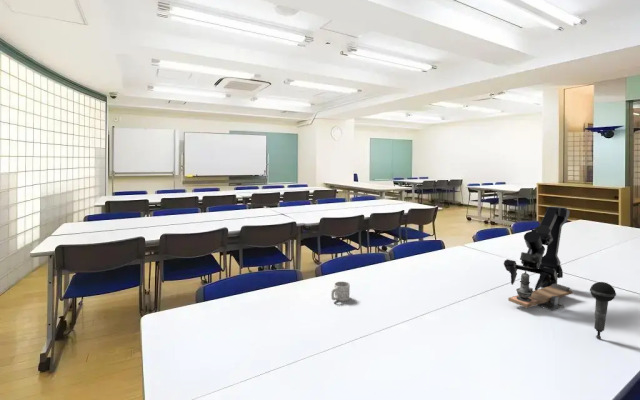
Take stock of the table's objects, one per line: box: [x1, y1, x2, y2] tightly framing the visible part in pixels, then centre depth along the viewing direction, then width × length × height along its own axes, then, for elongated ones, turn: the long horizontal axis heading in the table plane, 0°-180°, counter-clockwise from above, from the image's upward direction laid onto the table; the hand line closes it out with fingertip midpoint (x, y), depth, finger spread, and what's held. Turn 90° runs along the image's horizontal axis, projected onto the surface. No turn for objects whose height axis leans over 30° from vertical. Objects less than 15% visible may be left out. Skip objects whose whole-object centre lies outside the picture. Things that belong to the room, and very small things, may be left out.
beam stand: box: [529, 286, 565, 312], centre depth 146 cm, size 8×14×5 cm, turn 26°
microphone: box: [589, 281, 617, 340], centre depth 115 cm, size 7×7×20 cm
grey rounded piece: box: [516, 271, 533, 302], centre depth 140 cm, size 6×6×12 cm
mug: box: [330, 281, 351, 302], centre depth 150 cm, size 10×7×7 cm, turn 134°
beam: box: [507, 283, 574, 309], centre depth 145 cm, size 32×8×2 cm, turn 116°
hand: (523, 287), depth 139 cm, fingers open, 8 cm apart
